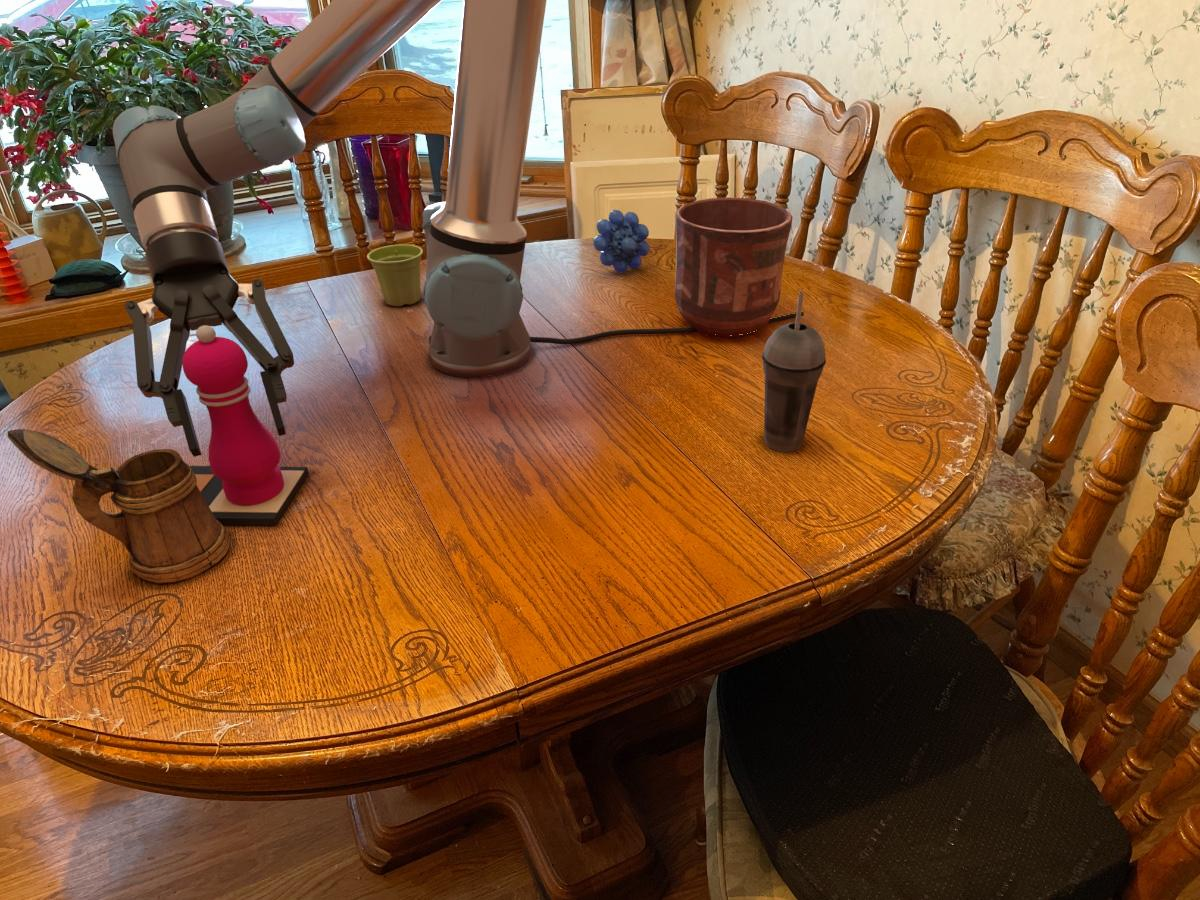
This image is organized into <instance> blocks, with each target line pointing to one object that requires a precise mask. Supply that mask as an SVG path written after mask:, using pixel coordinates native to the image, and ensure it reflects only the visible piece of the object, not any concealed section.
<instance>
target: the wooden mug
mask: <svg viewBox="0 0 1200 900" xmlns="http://www.w3.org/2000/svg"><path fill="white" fill-rule="evenodd" d="M6 435H7V436H6V437H7V439H8V440H9V441H10V442H11V444H13V445H14V446H15V447H16V448H17V449H18V451H20V452H21V453H22V454H23V456H25V458H27V459H28V460H29V461H31V462H32V463H33V464H35V465H36V466H39V467H40V468H42V469H44V470H46V471H48V472H50V473H52V474H54V475H56V476H58V477H60V478H63V479H65V480H67V481H68V480H69V481H74V484H73V487H72V497H71V499H72V502H73V503H74V507H75V510H76V512H77V513H78V514H79V515H80V516H81V517H82V519H83V520H84V521H86V522H88V523H89V524H91V525H92V526H94V527H95V528H97V529H99V530H101V531H103V533H106V534H108V535H110V536H112V537H114V538H115V539H116V540H118V541H119V542H121V543H122V544H123V546H124V547H125V549H126V550H127V552H128V553H129V555H128V556H129V557H128V558H129V564H130V569H131V571H132V573H134V574H135V575H136V576H137V577H139V578H141V579H143V580H145V581H147V582H150V583H154V584H159V585H161V584H169V583H177V582H181V581H185V580H188V579H190V578H191V579H192V578H194V577H197V576H199V575H200V574H202V573H204V572H206V571H207V570H209V569H210V568H212V567H213V566H214V565H216V564H217V563H219V562H220V560H221V559H222V558H223V557H225V556H226V554H227V553H228V551H229V549H230V546H231V545H230V544H231V539H230V537H229V534H228V532H227V531H226V529H225V527H224V525H222V524H221V523H220V522H219V521H218V520H216V518H215V516H214V515H213V513H212V511H211V510H210V508H209V506H208V504H207V503H206V501H205V499H204V497H203V496H202V494H201V492H200V490H199V489H198V487H197V485H196V484H197V478H196V476H195V474H194V472H193V471H192V469H191V468H190V466H191V465H189V464H188V463H186V462H185V460H183V458H182V456H181V454H180V452H178V451H176V450H174V449H171V448H159V449H157V448H156V449H151V450H147V451H144V452H141V453H138V454H136V455H133V456H131V457H130V458H128V459H126V460H125V461H124V462H123V463H122V464H121V465H119V467H117V469H115V468H114V467H106V468H101V469H99V468H97V467H96V466H93V465H91V464H89V462H88V461H87V460H86V459H85V458H84V457H83V456H82V455H81V454H80V453H79V452H78V451H77V450H75V449H74V448H73V447H71V446H70V445H68V444H66V443H65V442H63V441H61V440H60V439H58V438H57V437H54V436H51V435H49V434H47V433H44V432H43V431H38V430H33V429H27V428H17V429H11V430H8V431H7V434H6ZM109 493H112V494H111V496H110V500H111V502H112V504H113V505H114V506H115V507H116V508H118V509H120V512H118V513H107V512H106V511H103V510H102V509H101V506H100V500H101V498H102V497H103V496H105V495H107V494H109Z"/></svg>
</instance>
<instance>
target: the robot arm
mask: <svg viewBox="0 0 1200 900" xmlns="http://www.w3.org/2000/svg"><path fill="white" fill-rule="evenodd" d="M442 1H443V0H332V1H331V2H330V3H329V4H328V5H327V6H325V8H323V9H322V11H320V12H319V13H318V14H317V15H316V16H315V17H314V18H313V19H312V20H311V21H310V22H309V23H308V24H307V25H306V26H305V27H304V28H303V29H302V30H301V31H300V32H298V33H297V35H295V37H294V38H292V39H291V41H290V42H288V43H287V44H286V45H285V46H284V47H283V48H281V50H280V51H279V52H278V53H277V54H276V55H274V57H272V59H271V60H270V61H269V62H268V63H267V64H266V65H264V66H263V67H262V68H261V69H260V70H259V71H258V72H257V73H256V74H255V75H254V76H252V77H251V79H249V81H248V82H246V83H245V84H244V85H243V86H242V87H241V88H240V89H238V90H237V91H235V92H234V93H233V94H231V95H230V96H228V97H227V98H226V99H224V100H222V101H221V102H220V101H219V102H217V103H215V104H213V105H210V106H209V107H206V108H203V109H201V110H199V111H197V112H193V113H192V114H189V115H187V116H186V115H185V116H182V117H181V116H180V115H179V114H178V113H177V112H175V111H173V110H172V109H170V108H167V107H163V106H160V105H149V106H148V107H142V106H140V105H137V106H132V107H129V108H127V109H125V110H123V111H122V112H121V113H120V114H119V115H118V116H117V117H116V118H115V119H114V122H113V124H112V136H113V141H114V146H115V150H116V151H115V152H116V153H115V156H116V161H117V164H118V165H119V169H120V171H121V173H122V176H123V180H124V183H125V186H126V190H127V193H128V196H129V200H130V203H131V208H132V210H133V217H134V221H135V225H136V228H137V231H138V235H139V238H140V241H141V245H142V248H143V249H144V251H145V252H144V256H145V260H146V263H147V266H148V267H147V268H148V271H149V273H150V277H151V281H152V284H153V290H152V294H151V298H148V299H145V300H142V301H140V302H136V301H135V300H127V301H126V302H124V309H125V310H126V311H125V312H126V313H127V314H128V317H129V318H130V320H131V322H132V334H133V345H134V347H133V348H134V359H135V373H136V384H137V385H136V386H137V388H138V389H139V391H140V392H141V394H142V395H143V397H145V398H148V399H151V398H160V399H162V402H163V406H164V410H165V413H166V416H167V420H168V422H169V423H170V424H171V425H172V427H173V428H177V427H182V428H183V433H184V436H185V440H186V443H187V447H188V450H189V452H190V453H191V455H192V456H193V457H194V458H196V457H200V456H203V454H202V451H201V448H200V444H199V440H198V437H197V433H196V430H195V426H194V422H193V419H192V415H191V412H190V408H189V403H188V401H187V397H186V395H185V394H184V392H183V390H182V388H179V383H180V378H181V374H182V369H183V365H182V360H183V355H184V353H185V351H186V350H187V345H188V344H187V343H188V341H189V339H190V335H191V332H192V331H193V332H194V331H197V329H198V328H199V327H201V326H204V325H206V326H210V327H218V326H222V325H223V326H224V327H225V328H226V329H227V330H228V332H230V333H231V334H232V335H233V336H234V338H235V339H237V341H238V342H239V343H240V344H241V346H242V347H243V348H244V349H245V350H246V351H247V352H248V353H249V355H250V356H251V357H252V358H253V360H255V361H256V362H257V364H258V365H259V366H260V367H261V368H262V371H259V373H260V377H261V381H262V384H263V389H264V392H265V394H266V398H267V401H268V404H269V409H270V411H271V415H272V418H273V422H274V425H275V428H276V432H277V435H278V437H281V436H285V435H287V432H286V428H285V424H284V421H283V417H282V415H281V414H282V413H281V411H280V408H279V404H282V403H286V402H287V400H288V399H287V398H288V396H287V395H288V394H287V390H286V388H285V384H284V381H283V378H282V373H283V371H285V370H287V369H290V368H293V367H294V365H295V359H294V353H293V351H292V348H291V347H290V345H289V343H288V341H287V338H286V337H285V335H284V332H283V331H282V329H281V326H280V325H279V323H278V321H277V319H276V317H275V315H274V313H273V311H272V309H271V308H270V305H269V302H268V301H267V292H266V288H265V287H266V286H265V282H264V281H263V280H262V279H260V278H255V279H254V280H252V282H251V283H247V282H246V283H243V282H242V283H240V282H239V283H238V282H237V280H235V278H233V276H232V275H231V273H230V269H229V265H228V263H227V259H226V257H225V253H224V249H223V246H222V244H221V242H220V241H219V240H220V238H219V233H218V230H217V227H216V223H215V220H214V215H213V213H212V209H211V206H210V203H209V199H208V195H207V191H210V190H212V189H214V188H218V187H220V186H223V185H225V184H227V183H229V182H232V181H235V180H238V179H240V178H242V177H245V176H249V175H251V174H254V173H256V172H259V171H262V170H264V169H267V168H270V167H273V166H276V167H277V166H280V165H282V164H284V163H285V162H286V161H288V160H289V159H291V158H294V157H296V156H299V155H300V154H302V153H303V152H304V151H305V149H306V145H307V143H306V138H305V132H304V128H306V127H307V126H308V125H309V124H310V123H311V122H312V121H313V120H314V119H316V118H317V116H318V115H319V114H320V113H321V112H323V110H324V109H326V108H327V107H328V106H329V105H330V104H332V102H333V101H335V99H336V98H338V97H339V96H340V95H341V94H342V93H343V92H344V91H345V90H346V89H348V87H349V86H351V85H352V84H353V83H354V82H355V81H356V80H357V79H358V78H360V76H361V75H363V74H364V73H365V72H366V71H367V70H368V69H369V68H370V67H371V66H372V65H373V64H375V63H376V62H377V61H379V59H380V58H381V57H382V56H383V55H384V54H385V53H387V52H388V51H389V50H390V49H391V48H392V47H394V45H395V44H397V42H399V41H400V40H401V39H402V38H403V37H404V36H405V35H406V34H407V33H408V32H410V31H411V30H412V29H413V28H414V27H415V26H417V24H418V23H420V22H421V20H423V19H424V18H425V17H426V16H427V15H428V14H429V13H430V12H431V11H432V10H434V9H435V8H436V7H437V6H438V5H439V4H440V3H441V2H442ZM547 1H548V0H463V3H462V4H463V5H462V15H461V27H460V37H459V48H458V59H457V69H456V80H455V92H454V102H453V112H452V113H453V114H452V125H451V135H450V138H451V139H450V147H449V157H448V168H447V179H446V189H445V190H446V191H445V200H444V201H441V202H436V203H432V204H430V205H427V206H426V207H425V208H424V209H423V210H422V225H421V226H422V230H424V236H425V245H426V265H425V281H424V285H423V291H422V294H423V295H422V296H423V301H424V304H425V306H426V309H427V312H428V314H429V317H430V318H431V320H432V321H433V326H432V331H431V335H430V336H429V337H428V345H429V346H428V352H429V358H430V363H431V364H432V366H433V368H435V369H436V370H438V371H440V372H442V373H444V374H447V375H449V376H454V377H459V378H460V377H462V378H486V377H492V376H497V375H502V374H505V373H508V372H511V371H513V370H515V369H517V368H520V367H521V366H523V365H524V364H526V362H527V361H528V360H529V359H530V357H531V355H532V343H541V344H554V345H576V344H582V343H587V342H591V341H596V340H599V339H604V338H609V337H616V336H630V335H667V334H668V335H669V334H670V335H671V334H692V333H693V334H694V333H699V332H698V331H697V330H696V329H695V328H693V327H691V326H690V327H687V326H686V327H669V328H668V327H667V328H666V327H665V328H630V329H629V328H628V329H627V328H626V329H615V330H607V331H602V332H597V333H593V334H588V335H585V336H580V337H573V338H558V337H547V336H546V337H545V336H530V335H529V332H528V330H527V327H526V325H525V323H524V321H523V319H522V316H521V314H520V312H521V310H522V305H523V300H524V294H523V286H522V283H521V279H522V278H521V277H522V270H523V262H524V255H525V250H526V242H527V229H526V228H525V227H524V226H523V224H522V223H521V222H520V220H519V218H518V217H517V216H518V209H519V201H520V194H521V186H522V181H523V173H524V166H525V159H526V153H527V152H526V150H527V145H528V137H529V131H530V130H529V129H530V123H531V115H532V108H533V100H534V93H535V87H536V79H537V72H538V65H539V59H540V50H541V45H542V44H541V43H542V36H543V29H544V23H545V22H544V21H545V15H546V14H545V13H546V7H547ZM239 296H241V297H243V298H244V299H245V300H246V302H247V303H248V304H250V305H254V308H255V311H256V313H257V316H258V318H259V320H260V322H261V324H262V326H263V328H264V330H265V332H266V334H267V336H268V338H269V340H270V341H271V344H272V346H273V348H274V349H275V352H276V354H277V356H272V354H271V353H270V352H269V351H268V350H267V348H266V347H265V346H264V345H263V343H261V341H259V339H258V338H257V337H256V336H255V335H254V334H253V333H252V331H251V330H250V329H249V327H248V326H247V325H246V324H245V323H244V322H243V320H241V318H240V317H239V316H238V314H237V313H236V311H235V309H234V308H235V305H236V303H237V301H238V299H239V298H240V297H239ZM156 311H159V312H160V313H161V314H163V315H165V316H166V317H167V318H168V319H170V323H169V333H168V338H167V343H166V348H165V353H164V358H163V363H162V368H161V373H160V378H159V381H158V380H157V381H156V376H155V375H156V373H155V364H154V363H155V362H154V350H153V338H152V331H151V328H150V325H149V324H151V323H152V322H153V321H154V319H155V317H154V314H155V312H156ZM796 312H797V311H796ZM796 312H794V313H795V314H791V313H789V314H790V315H787V314H788V313H786V314H785V315H786V316H782V315H780V316H781V317H777V316H776V317H777V318H772V317H771V318H772V319H770V320H769V321H768V323H767V324H766V325H768V324H773V323H777V322H778V323H779V322H783V321H787V320H791V319H796ZM804 315H805V314H804V311H803V312H801V317H804ZM178 388H179V389H178Z"/></svg>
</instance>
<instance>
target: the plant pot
mask: <svg viewBox="0 0 1200 900" xmlns="http://www.w3.org/2000/svg"><path fill="white" fill-rule="evenodd" d="M423 250H424V249H423V248H422V247H420V246H418V245H415V244H404V243H403V244H401V243H400V244H391V245H386V246H381V247H378V248H375V249H372V250H371V251H369V252H368V253H367V255H366V258H367V261H369V262H370V264H371V266H372V268H373V269H374V271H375V274H376V277H377V280H378V283H379V286H380V289H381V293H382V296H383V298H384V301H385V302H386V304H387V305H389V306H393V307H402V306H404V305H408V306H410V305H414V304H416V303H417V302H420V300H421V262H422V255H423V253H424V251H423Z"/></svg>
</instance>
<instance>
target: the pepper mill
mask: <svg viewBox="0 0 1200 900" xmlns="http://www.w3.org/2000/svg"><path fill="white" fill-rule="evenodd" d="M195 337H196V339H197V340H196V341H195V342H193V343H191V344H190V345H189V346H188V347H186V349H185V353H184V355H183V360H182V369H183V373H184V376H185V377H186V379H187V380H188V382H190V383H191V384H192V385H194V386H196V394H197V396H198V400H199V402H200V403H201V404H202V405H203V406H206V410H207V411H208V416H209V419H210V431H211V432H210V437H209V443H208V444H209V445H208V451H207V453H208V462H209V463H208V464H209V466H210V467H211V470H212V472H213V473H214V475H215V476H216V477H217V478H219V479H221V480H223V482H222V487H223V490H224V492H225V495H226V498H227V499H228V501H230V502H231V503H233V504H236V505H245V506H248V505H255V504H259V503H263V502H265V501H267V500H270V499H272V498H273V497H275V496H276V495H277V494H279V493H280V492H281V490H282V489H283V487H284V479H283V475H282V472H281V469H280V468H279V467H280V466H279V463H280V460H281V458H282V457H281V456H282V453H281V449H280V446H279V444H278V441H277V440H276V438H275V437H274V435H273V433H272V432H271V431H270V430H269V429H268V428H267V426H265V425H264V423H262V421H261V420H260V419H259V418H258V416H257V415H256V413H255V412H254V410H253V407H252V405H251V403H250V398H249V395H250V393H251V390H252V389H251V386H250V385H249V379H248V378H247V377H246V376H245V374H246V373H247V370H248V366H249V362H248V357H247V356H246V353H245V351H244V349H243V348H242V347H241V346H240V345H239V344H238V343H237V342H235V340H233V339H230V338H228V337H222V336H217V333H216V331H215V329H214V328H213V326H206V325H204V326H201V327H199V328H198V329H197V330H195Z"/></svg>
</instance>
